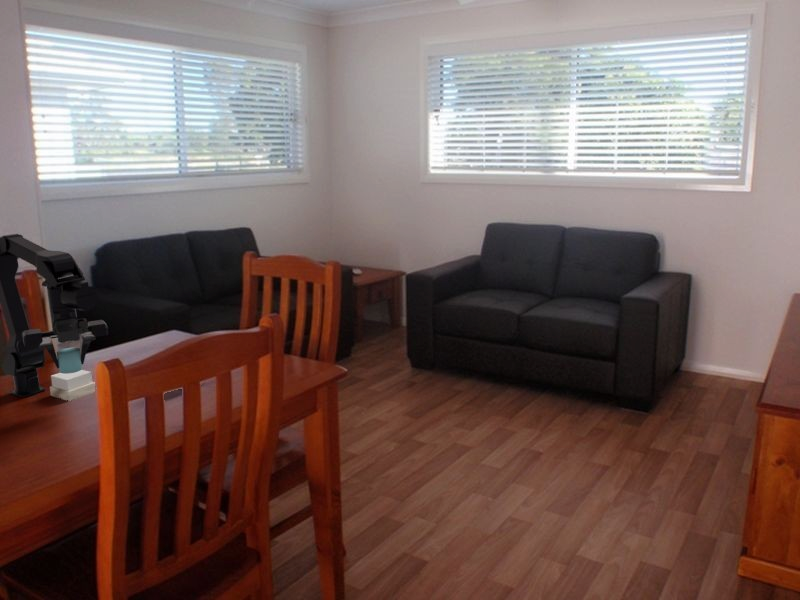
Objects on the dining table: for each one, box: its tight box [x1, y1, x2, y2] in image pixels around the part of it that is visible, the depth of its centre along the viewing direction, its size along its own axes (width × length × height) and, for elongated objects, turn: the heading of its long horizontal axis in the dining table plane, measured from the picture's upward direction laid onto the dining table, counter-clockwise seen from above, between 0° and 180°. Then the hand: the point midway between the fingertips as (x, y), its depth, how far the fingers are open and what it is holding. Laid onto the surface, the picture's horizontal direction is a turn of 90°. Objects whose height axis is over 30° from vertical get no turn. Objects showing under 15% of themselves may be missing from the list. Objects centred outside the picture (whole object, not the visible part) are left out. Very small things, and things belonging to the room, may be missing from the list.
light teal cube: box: [56, 347, 83, 374], centre depth 175 cm, size 5×5×5 cm
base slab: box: [49, 381, 95, 402], centre depth 187 cm, size 8×8×3 cm
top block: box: [50, 369, 94, 391], centre depth 186 cm, size 7×7×3 cm
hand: (70, 365), depth 176 cm, fingers closed on light teal cube, 5 cm apart
